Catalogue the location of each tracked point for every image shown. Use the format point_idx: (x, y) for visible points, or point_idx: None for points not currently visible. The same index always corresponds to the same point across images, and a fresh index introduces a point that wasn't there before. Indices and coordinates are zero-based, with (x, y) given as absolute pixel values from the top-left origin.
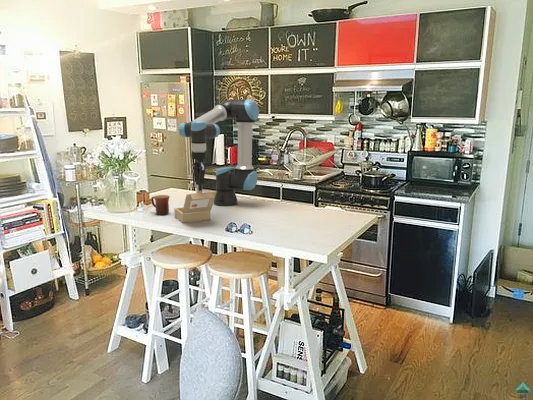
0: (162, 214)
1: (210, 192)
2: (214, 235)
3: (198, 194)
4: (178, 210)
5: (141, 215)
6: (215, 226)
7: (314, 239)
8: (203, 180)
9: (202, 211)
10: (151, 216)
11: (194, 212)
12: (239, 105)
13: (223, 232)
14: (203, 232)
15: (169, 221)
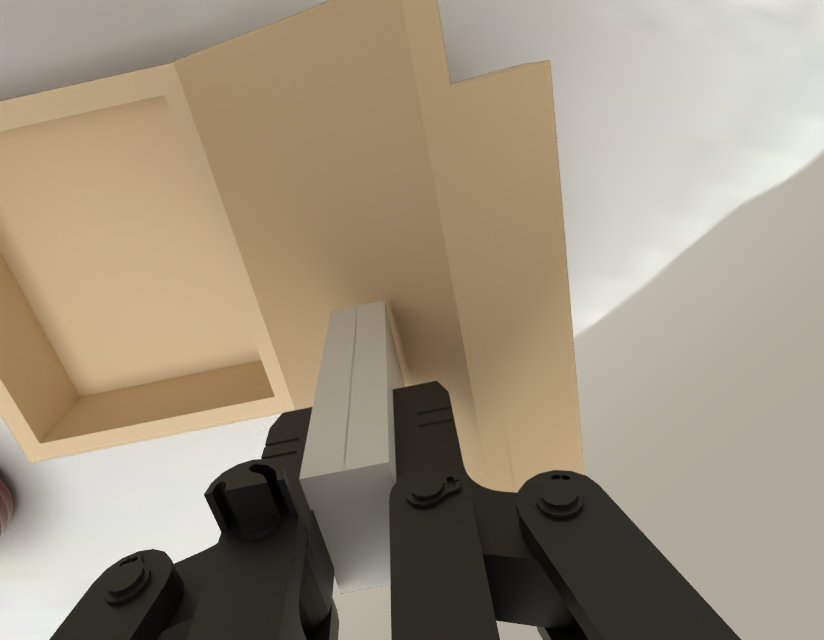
0: (11, 497)
1: (448, 152)
2: (812, 135)
3: (503, 413)
4: (134, 432)
5: (23, 616)
6: (517, 58)
7: None
8: (665, 580)
9: (210, 181)
10: (56, 561)
11: (249, 284)
12: None
13: (769, 16)
14: (673, 220)
15: (235, 451)
